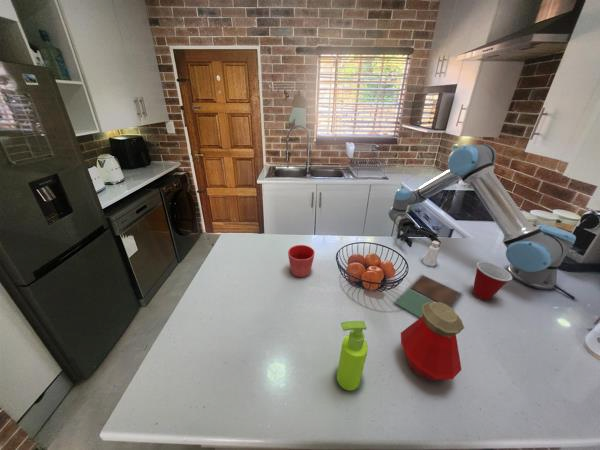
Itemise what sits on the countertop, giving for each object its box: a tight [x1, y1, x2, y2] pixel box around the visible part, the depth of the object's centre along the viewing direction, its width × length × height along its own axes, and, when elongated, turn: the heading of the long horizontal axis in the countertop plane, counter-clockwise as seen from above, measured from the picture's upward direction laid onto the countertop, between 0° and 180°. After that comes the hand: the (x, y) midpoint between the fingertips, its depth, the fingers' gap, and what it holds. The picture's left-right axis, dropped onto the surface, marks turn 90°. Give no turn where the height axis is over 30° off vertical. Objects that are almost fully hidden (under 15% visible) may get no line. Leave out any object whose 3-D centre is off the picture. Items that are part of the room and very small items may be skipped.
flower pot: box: [287, 244, 316, 278], centre depth 101 cm, size 11×11×10 cm
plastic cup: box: [472, 260, 513, 301], centre depth 91 cm, size 11×11×12 cm
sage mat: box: [395, 289, 434, 319], centre depth 87 cm, size 14×11×1 cm
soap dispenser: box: [336, 320, 369, 392], centre depth 59 cm, size 6×7×20 cm
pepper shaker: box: [422, 241, 440, 267], centre depth 109 cm, size 5×5×11 cm
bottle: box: [400, 301, 465, 382], centre depth 63 cm, size 16×14×20 cm
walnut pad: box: [410, 275, 461, 308], centre depth 95 cm, size 14×11×1 cm
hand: (425, 244), depth 114 cm, fingers open, 13 cm apart
